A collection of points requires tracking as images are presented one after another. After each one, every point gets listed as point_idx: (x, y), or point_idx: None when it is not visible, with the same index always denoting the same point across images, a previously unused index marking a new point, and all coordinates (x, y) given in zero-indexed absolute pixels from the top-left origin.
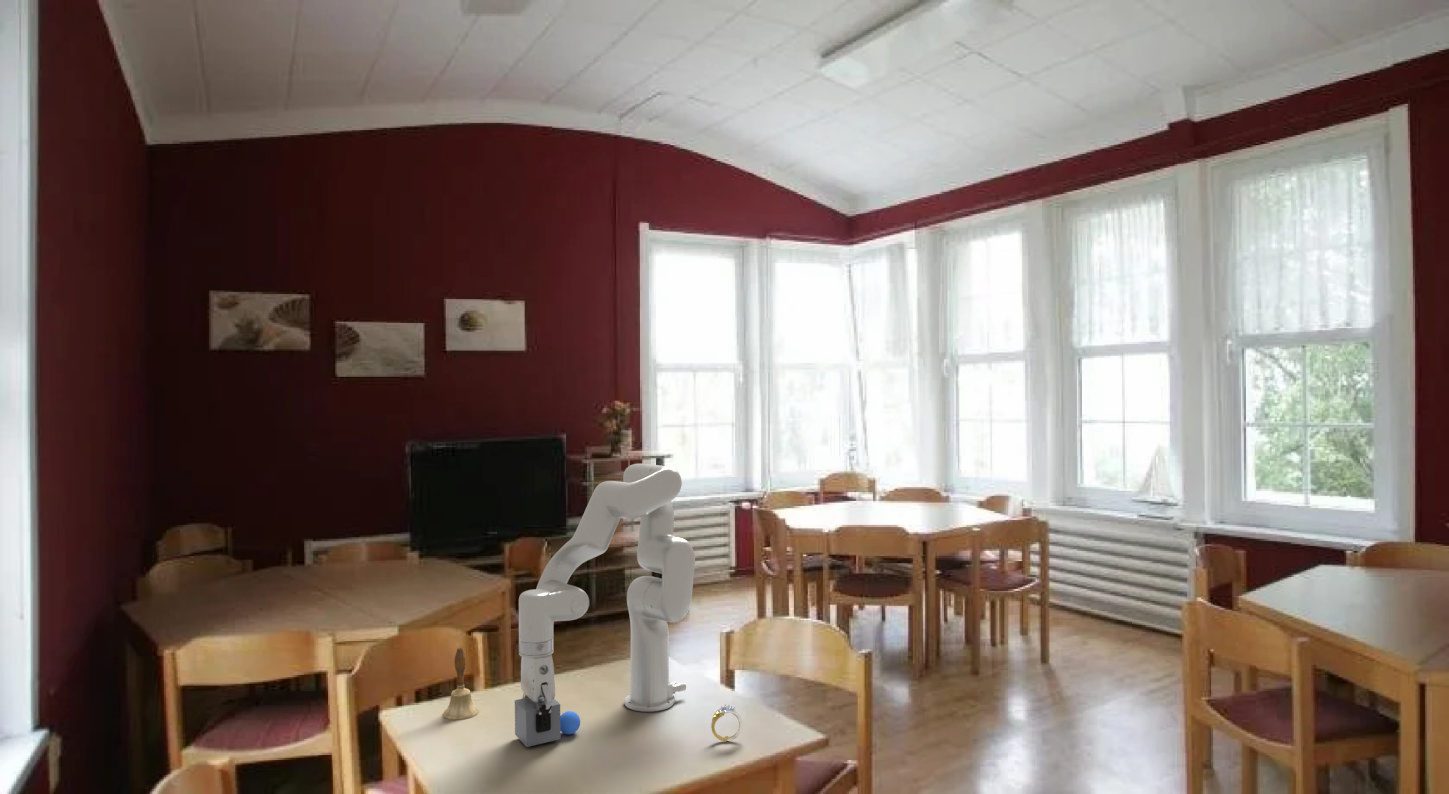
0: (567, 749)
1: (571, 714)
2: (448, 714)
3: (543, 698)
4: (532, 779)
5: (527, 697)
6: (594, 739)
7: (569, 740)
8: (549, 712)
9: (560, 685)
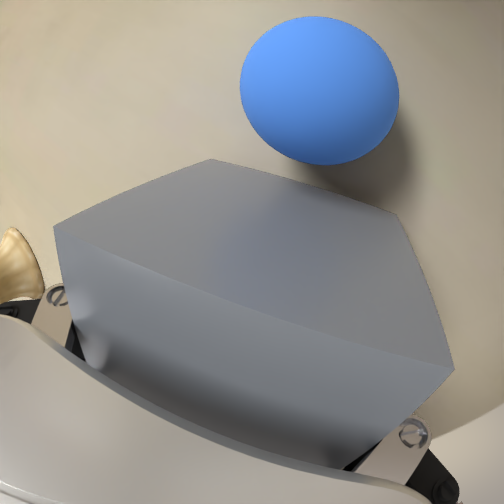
0: (464, 235)
1: (357, 84)
2: (30, 297)
3: (150, 348)
4: (472, 413)
5: (79, 354)
6: (472, 71)
7: (398, 153)
8: (421, 434)
9: (8, 9)
